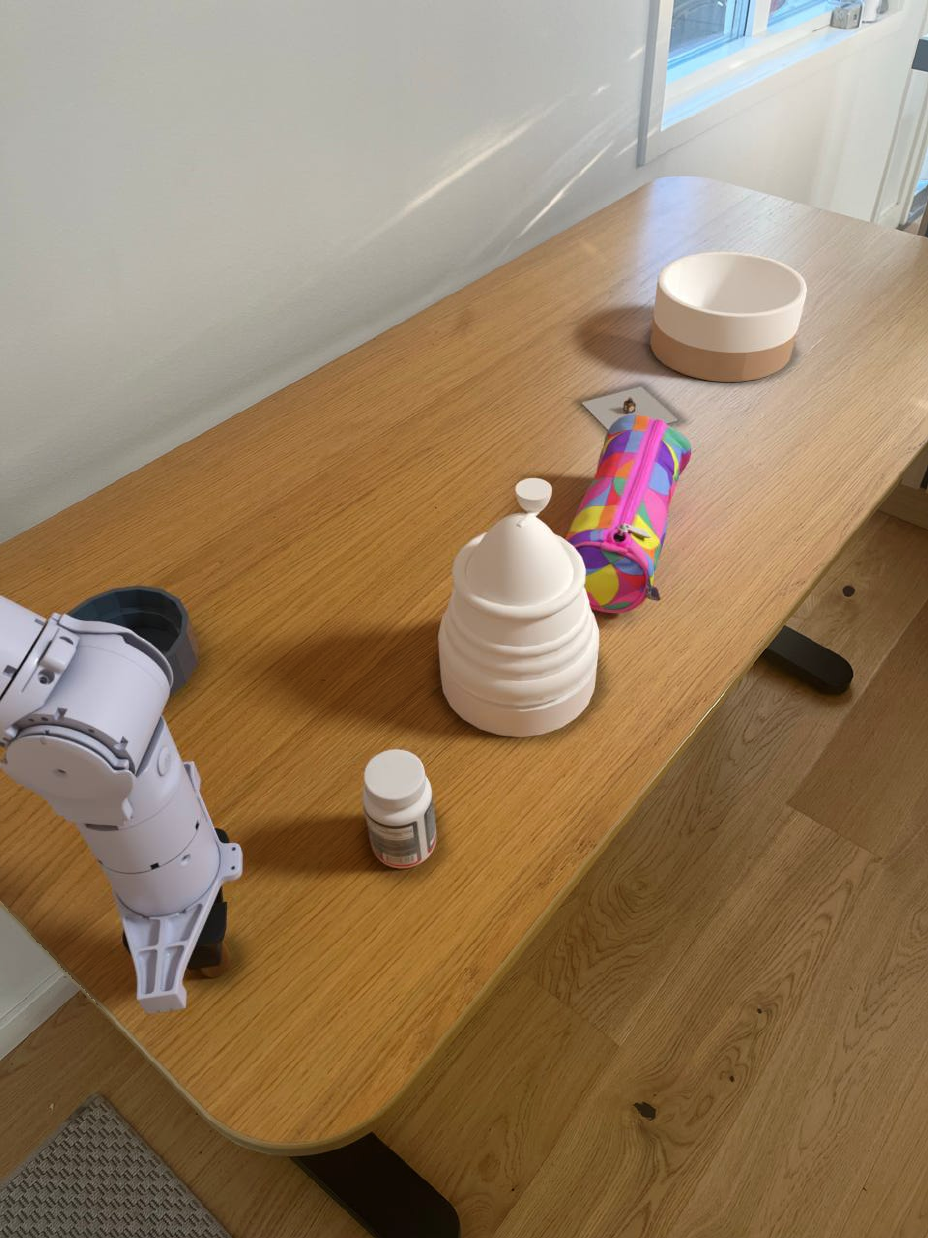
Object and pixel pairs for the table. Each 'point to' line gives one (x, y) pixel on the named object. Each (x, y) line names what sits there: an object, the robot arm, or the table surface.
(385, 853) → the pill bottle
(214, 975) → the stirring stick
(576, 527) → the pencil case
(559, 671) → the honey pot
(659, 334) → the bowl
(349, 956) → the table surface
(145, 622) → the mixing bowl
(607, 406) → the grey flat square sheet
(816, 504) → the table surface
